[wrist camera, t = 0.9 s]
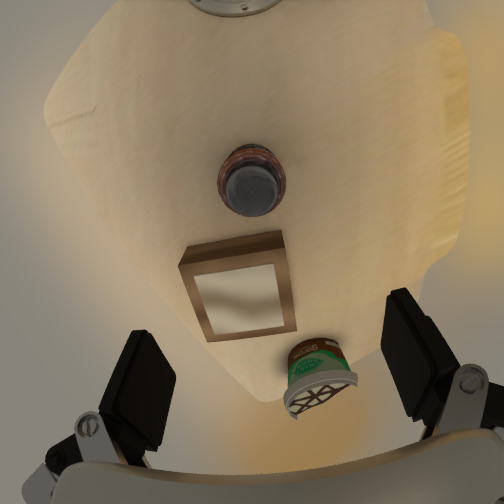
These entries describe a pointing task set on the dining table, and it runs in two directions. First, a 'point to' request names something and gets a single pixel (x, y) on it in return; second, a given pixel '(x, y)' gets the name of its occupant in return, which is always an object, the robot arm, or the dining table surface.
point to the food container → (315, 374)
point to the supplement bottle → (251, 181)
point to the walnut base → (240, 287)
